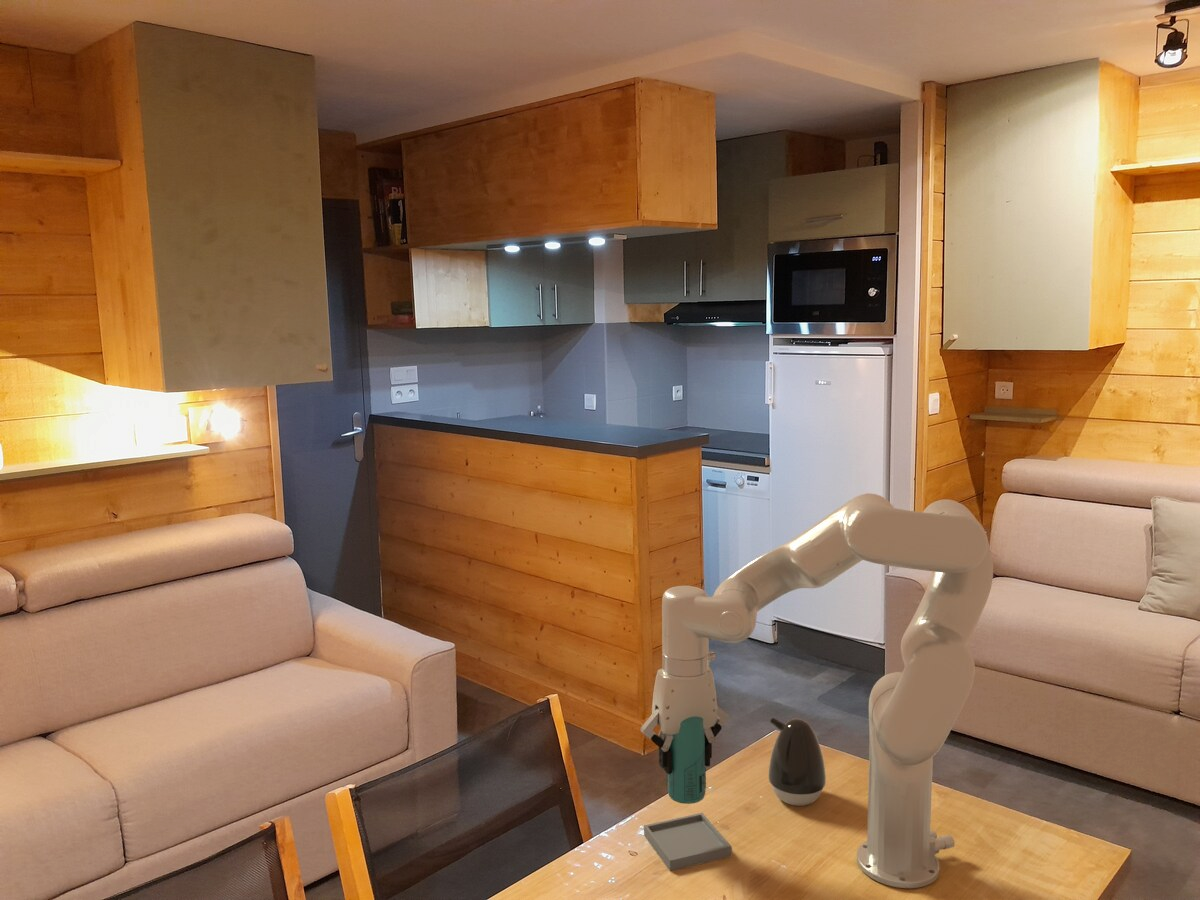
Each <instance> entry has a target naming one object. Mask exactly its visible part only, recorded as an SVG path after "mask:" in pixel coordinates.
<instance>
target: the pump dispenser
mask: <svg viewBox="0 0 1200 900" xmlns="http://www.w3.org/2000/svg"><path fill="white" fill-rule="evenodd" d="M769 722H770V723H771V724H772V725H773V726H775V728H777V729H778V730H779V733H778V735H777V737H776V738H775V739H776V740H775V742H774V745H773V747H772V751H771V755H770V760H769V765H768V766H769V767H768V781H769V783H770V784H771V788H772V791H773V792H774V793H773V794H775V795H776V797H778V799H779V800H780V801H782V802H784V803H785V804H788V805H792V806H796V807H797V806H798V807H799V806H800V807H801V806H807V805H810V804H811V805H812V804H813V803H814V802H816V800H818V799H819V797H821V794H822V792H823V789H824V788H825V786H826V782H827V781H826V778H827V777H826V768H825V762H824V756H823V752H822V748H821V746H820V742H819V740H818V737H817V735H816V732H815V731H814V729H813V728H812V725H810V723H808V721H806V720H803V719H802V718H792V719H790V720H788V721H786V723H784V722H782V721H780V720H778V719H777V718H775V717H771V718H770V719H769Z"/></svg>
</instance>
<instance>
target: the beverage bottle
mask: <svg viewBox="0 0 1200 900" xmlns="http://www.w3.org/2000/svg"><path fill="white" fill-rule="evenodd" d="M680 725H681V726H680V730H679V733H678V734H674V737H673V739H672V742H671V745H670V747H669V749H670V750H671V751H672V773H671V774H667V773H666V786H667V788H666V790H667V794H668V796H669V798H670V799H671V800H672V801H674V802H676V803H679V804H683V805H685V804H687V805H690V804H696V803H699V802H701V801H702V800H703V799H704V798H705V795H706V794H707V792H706V790H707V778H706V776H707V775H706V774H707V773H706V772H707V771H706V769H707V767H706V766H705V765H706V764H705V756H706V755H705V748H706V747H705V743H706V742H705V736H704V728H703V718H701V717H696V716H695V717H689V718H687V719H685V720H683V721H682V722H681V723H680Z"/></svg>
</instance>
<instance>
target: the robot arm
mask: <svg viewBox="0 0 1200 900" xmlns="http://www.w3.org/2000/svg"><path fill="white" fill-rule="evenodd" d="M862 561H866V562H869V563H873V564H878V565H883V566H889V567H895V568H900V569H901V568H903V569H909V570H910V569H912V570H917V571H918V570H919V571H927V572H932V573H931V576H930V580H929V582H928V584H927V586H926V590H925V592H924V594H923V597H922V599H921V601H920V603H919V604H918V606H917V609H916V611H915V612H914V614H913V617H912V619H911V621H910V623H909V624H908V626H907V628H906V630H905V631H904V633H903V635H902V638H901V641H900V652H901V653H900V654H901V657H902V661H903V666H904V668H903V671H894V672H891V673H887V674H884V675H883V676H882V677H880V678H879V679H878V680H877V681H876V682H875V683H874V685H873V687H872V688H871V691H870V694H869V698H868V726H869V727H868V728H869V731H868V732H869V739H868V740H869V755H868V756H869V759H868V761H869V762H868V763H869V764H868V786H867V787H868V791H867V792H868V793H867V795H868V796H867V801H868V802H867V834H866V835H867V836H866V838H867V839H866V841H865V842H863V843H861V844H860V845H859V847H858V849H857V851H856V862H857V865H858V866H859V868H860V870H861V871H862V872H863V873H864V874H865V875H867V876H868V877H869V878H871V879H872V880H874V881H876V882H878V883H881V884H882V885H886V886H889V887H893V888H900V889H918V888H922V887H923V888H924V887H926V886H929V885H930V884H932V883H933V882H935V881H936V880H937V879H938V877H939V875H940V862H939V859H938V858H937V857H936V854H939V852H940V851H942V850H946V849H951V848H954V847H955V839H954V837H953V836H951V835H950V834H947V835H946V834H945V835H941V836H939V837H938V835H937V832H936V831H935V830H933V829H932V830H931V823H932V820H931V818H932V817H931V816H932V813H931V812H932V795H933V794H932V792H933V791H932V790H933V766H934V764H933V763H934V756H935V755H936V754H937V753H938V752H939V751H940V750H941V748H942V747H943V746H944V744H945V741H946V740H947V738H948V736H949V734H950V733H951V730H952V729H953V727H954V726H955V724H956V721H957V719H958V718H959V716H960V713H961V711H962V710H963V707H964V705H965V703H966V702H967V700H968V698H969V695H970V693H971V691H972V687H973V685H974V681H975V675H976V664H975V661H974V660H975V659H974V657H973V655H972V651H971V650H970V648H969V646H970V645H969V644H970V641H971V638H972V636H973V634H974V632H975V629H976V627H977V625H978V622H979V620H980V617H981V616H982V613H983V611H984V608H985V607H986V604H987V601H988V599H989V596H990V593H991V589H992V584H993V580H994V579H993V577H994V562H993V554H992V550H991V546H990V544H989V538H988V535H987V532H986V530H985V529H984V527H983V525H982V523H980V521H978V519H977V518H976V517H975V515H974V514H973V513H972V512H971V511H970V509H969V508H967V507H966V505H964V504H963V503H960V502H958V501H956V500H953V499H946V498H945V499H939V500H936V501H935V500H934V501H933V502H931V503H930V504H929V505H928V506H926V507H925V509H924V510H923V511H915V510H908V509H907V510H906V509H901V508H895V507H894V505H893V504H892V503H891V502H890V501H889V500H888V499H886V498H885V497H884V496H882V495H879V494H876V493H870V492H869V493H863V494H860V495H857V496H855V497H854V498H852V499H850V500H848V501H846V502H845V503H844V504H843V505H841V506H840V507H838V508H837V509H835V510H834V511H832V512H831V513H829V514H828V515H827V516H825V517H823V518H822V519H821V520H819V521H817V522H816V523H814V524H813V525H812V526H810V527H809V528H808V529H805V530H804V531H803V532H801V533H800V534H798V535H796V536H795V537H794V538H792V539H791V540H790V541H788V542H786V543H784V544H781V545H779V546H778V547H776V548H774V549H773V550H771V551H768V552H766V553H764V554H762V555H761V556H759V557H757V558H755V559H754V560H752V561H750V562H749V563H748V564H746V565H745V566H743V567H742V568H740V569H739V570H737V571H736V572H734V573H732V575H730V576H729V577H727V578H726V579H724V580H723V581H722V582H721V583H720V584H719V585H718V586H717V588H716V589H715V591H714V593H713V595H712V596H709V595H708V594H707V592H706V591H705V590H704V589H702V588H700V587H697V586H692V585H677V586H673V587H669V588H668V589H667V590H665V591H664V592H663V595H662V600H661V601H662V602H661V616H662V617H661V620H662V622H661V624H662V625H661V630H662V631H661V635H662V636H661V637H662V638H661V639H662V640H661V641H662V642H661V643H662V644H661V651H662V653H661V655H662V656H661V658H662V661H661V663H662V665H661V668H659V669H658V670H657V672H656V674H655V675H656V676H655V680H654V681H655V682H654V686H653V687H654V688H653V693H652V694H653V695H652V707H651V714H650V716H649V717H648V718H647V720H646V721H645V722H644V723H643V724H642V726H640V732H641V733H642V734H643V735H644V736H646V737H647V738H648V739H649V741H651V742H653V743H654V744H655V745H656V746H657V747H658V764H659V766H660V768H662V769H663V771H664V772H666V775H667V774H671V773H672V751H671V750H670V749H669V747H670V745H671V742H672V739H673V737H674V734H678V733H679V730H680V726H681V725H680V723H681V722H682V721H683V720H685V719H687V718H689V717H695V716H696V717H701V718H703V728H704V736H705V742H706V743H705V747H706V748H705V755H706V756H705V764H706V765H705V767H706V768H707V767H710V766H711V759H712V758H713V757H712V756H713V755H712V754H713V749H712V748H713V743H714V742H715V740H716V737H717V735H718V734H719V733H720V732H721V730H722V729H723V728H722V727H724V725H725V724H726V723H727V722H728V720H730V715H729V714H728V713H727V712H726V711H724V710H723V709H722V708H721V707H720V706H719V705H718V701H717V691H716V685H715V679H714V674H713V670H712V668H711V667H710V666H711V665H710V663H711V661H714V660H716V658H717V655H716V652H715V651H709V649H710V648H709V646H710V643H709V642H710V640H716V641H719V642H723V643H730V644H731V643H732V644H733V643H734V644H735V643H741V642H744V641H746V640H747V639H749V638H750V637H751V635H752V634H753V633H754V631H755V629H756V624H757V618H758V617H757V616H758V613H759V611H760V610H762V609H763V608H765V607H767V606H768V605H769V604H771V603H772V602H774V601H776V600H777V599H778V598H781V597H782V596H784V595H785V594H788V593H789V592H793V591H796V590H800V589H818V588H821V587H824V586H826V585H828V584H829V583H831V582H832V581H833V580H834V579H836V578H838V577H840V575H842V574H844V573H845V572H846V571H848V570H850V569H851V568H853V567H854V566H856V565H857V564H859V563H860V562H862ZM656 726H659V727H660V729H659V732H658V734H657V732H654V729H655V727H656Z"/></svg>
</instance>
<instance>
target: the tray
mask: <svg viewBox="0 0 1200 900" xmlns="http://www.w3.org/2000/svg"><path fill="white" fill-rule="evenodd" d="M643 836H644V837H645V838H646V840H647V841H648V842H649V844H650V846H651V847H652V848H653V850H654V851H655V852H656V854H657V855H658V857H659V858H660V859H661V860H662V862H663V863H664V865H665V866H666V867H667V869H668V870H669V871H670V872H671V871H676V870H680V869H684V868H688V867H693V866H697V865H701V864H705V863H709V862H714V861H717V860H718V861H719V860H722V859H726V858H730V856H731V857H732V845H731V844H730V843H729V842H728V841H727V839H726V838H725V837H724V836H723V835H722V834H721V833H720V831H719V830H718V829H717V828H716V827H715V825H714V824H713V823H712V822H711V821H710V820H709V819H708V818H707V816H706V815H705V814H704V812H699V813H696V814H690V815H686V816H681V817H676V818H671V819H668V820H663V821H659V822H654V823H653V822H652V823H650V824H645V825H643ZM725 857H726V858H725Z"/></svg>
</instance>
